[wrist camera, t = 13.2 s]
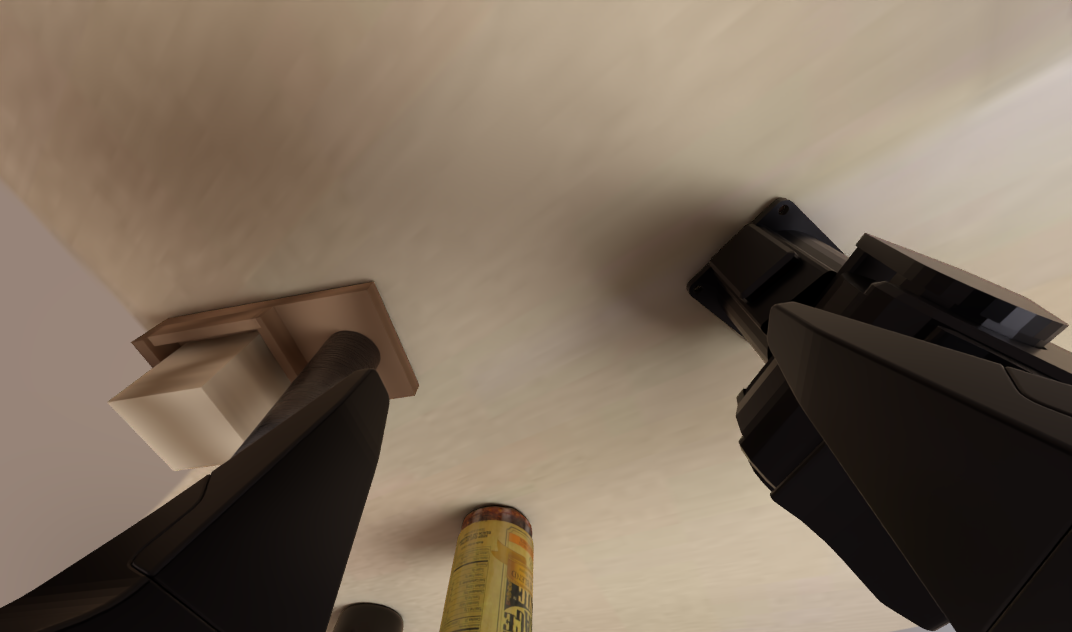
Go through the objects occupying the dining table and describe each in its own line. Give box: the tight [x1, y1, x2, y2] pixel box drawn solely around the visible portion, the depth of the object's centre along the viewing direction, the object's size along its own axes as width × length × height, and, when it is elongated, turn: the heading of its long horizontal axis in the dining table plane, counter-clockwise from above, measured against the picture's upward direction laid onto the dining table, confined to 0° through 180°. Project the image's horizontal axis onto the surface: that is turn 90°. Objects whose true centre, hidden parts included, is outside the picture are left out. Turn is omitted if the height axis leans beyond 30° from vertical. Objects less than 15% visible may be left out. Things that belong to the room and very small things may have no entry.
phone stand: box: [131, 282, 419, 459], centre depth 20 cm, size 13×8×12 cm, turn 101°
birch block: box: [107, 331, 291, 471], centre depth 22 cm, size 5×5×5 cm
